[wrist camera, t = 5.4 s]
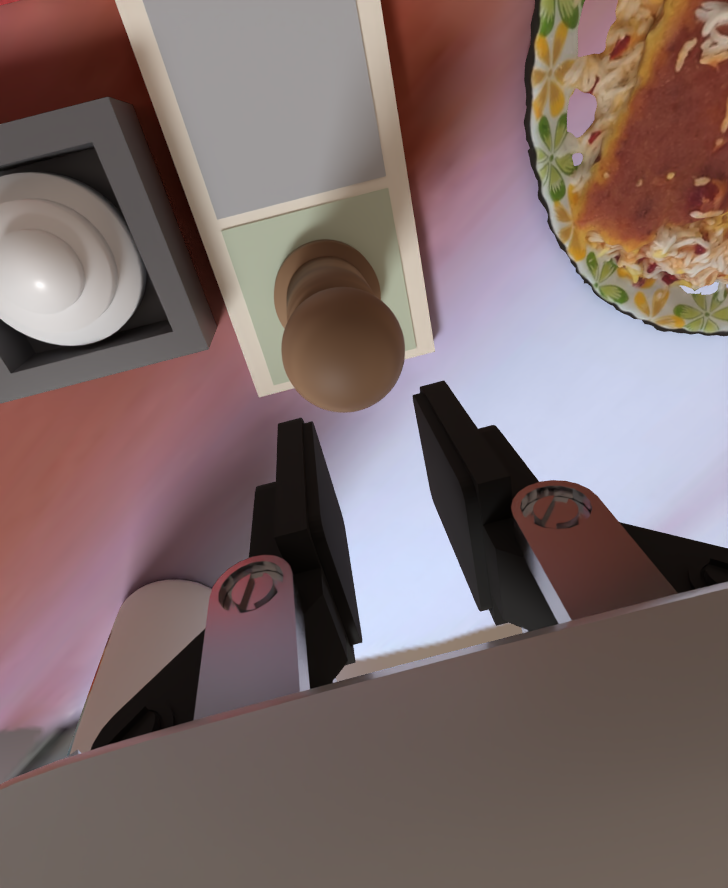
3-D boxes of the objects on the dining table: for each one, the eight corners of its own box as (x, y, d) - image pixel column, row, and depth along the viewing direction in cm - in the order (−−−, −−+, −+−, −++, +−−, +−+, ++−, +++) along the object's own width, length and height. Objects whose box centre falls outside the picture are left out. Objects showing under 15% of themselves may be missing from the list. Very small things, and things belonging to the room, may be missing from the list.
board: (259, 390, 29) (258, 398, 28) (-10, -361, 16) (-29, -394, 15) (430, 345, 29) (435, 352, 28) (305, -440, 16) (306, -478, 15)
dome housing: (32, 375, 27) (0, 403, 24) (-96, 163, 22) (-157, 164, 19) (217, 327, 27) (208, 349, 24) (132, 104, 22) (108, 96, 19)
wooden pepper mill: (291, 354, 27) (294, 460, 18) (260, 254, 24) (244, 316, 15) (386, 330, 27) (439, 422, 18) (365, 227, 24) (415, 271, 15)
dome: (29, 353, 24) (0, 376, 22) (-64, 195, 21) (-112, 201, 18) (171, 316, 24) (158, 335, 22) (101, 153, 21) (77, 152, 18)
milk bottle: (131, 565, 34) (-30, 995, 16) (246, 587, 36) (211, 985, 19) (110, 642, 37) (-44, 1072, 20) (217, 659, 39) (163, 1055, 22)
